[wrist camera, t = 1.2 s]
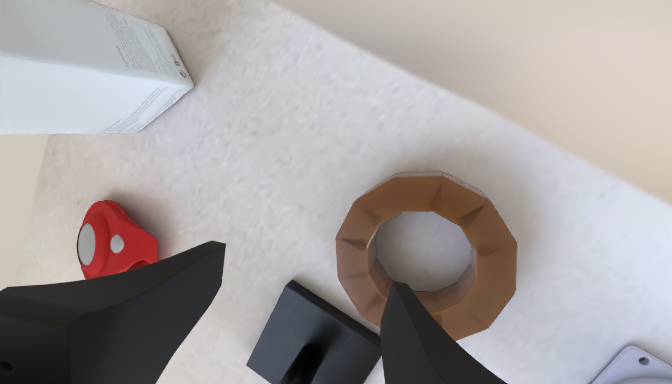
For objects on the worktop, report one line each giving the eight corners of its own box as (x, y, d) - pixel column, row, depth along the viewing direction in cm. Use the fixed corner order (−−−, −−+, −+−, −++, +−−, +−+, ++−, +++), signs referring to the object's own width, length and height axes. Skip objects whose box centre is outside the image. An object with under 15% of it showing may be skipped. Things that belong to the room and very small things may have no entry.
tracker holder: (66, 201, 32) (114, 195, 26) (116, 203, 35) (167, 198, 30) (59, 328, 31) (108, 348, 25) (111, 316, 34) (163, 331, 29)
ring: (541, 222, 21) (558, 235, 18) (451, 347, 24) (453, 375, 21) (390, 144, 23) (383, 144, 20) (325, 267, 26) (311, 283, 23)
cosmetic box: (166, 26, 27) (-134, -101, 13) (200, 90, 27) (-63, 35, 13) (106, 81, 29) (-194, 28, 15) (136, 140, 29) (-137, 139, 15)
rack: (387, 341, 25) (372, 399, 19) (337, 417, 27) (311, 489, 22) (292, 279, 27) (253, 316, 21) (253, 356, 29) (209, 408, 24)
